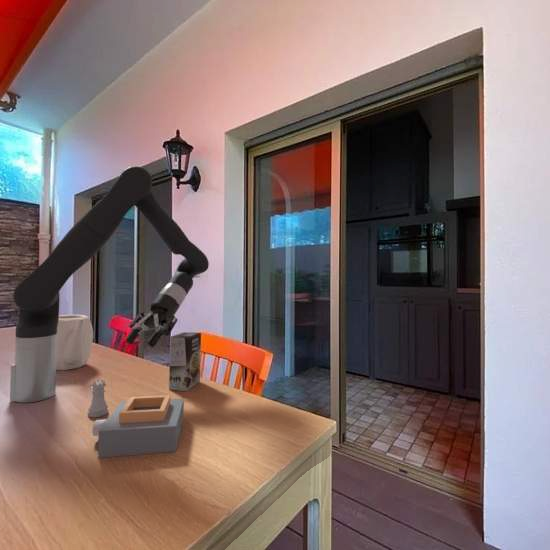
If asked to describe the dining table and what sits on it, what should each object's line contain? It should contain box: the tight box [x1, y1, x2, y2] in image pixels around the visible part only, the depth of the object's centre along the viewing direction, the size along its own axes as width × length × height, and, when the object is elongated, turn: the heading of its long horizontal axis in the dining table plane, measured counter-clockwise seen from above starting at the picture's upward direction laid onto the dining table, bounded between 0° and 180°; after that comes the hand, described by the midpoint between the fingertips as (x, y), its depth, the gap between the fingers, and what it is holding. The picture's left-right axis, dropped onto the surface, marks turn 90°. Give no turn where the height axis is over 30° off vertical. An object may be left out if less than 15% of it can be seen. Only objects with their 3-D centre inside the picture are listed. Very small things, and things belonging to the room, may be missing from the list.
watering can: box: [56, 314, 94, 371], centre depth 115 cm, size 16×27×19 cm, turn 49°
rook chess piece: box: [87, 379, 109, 419], centre depth 77 cm, size 4×4×8 cm
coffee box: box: [168, 331, 202, 392], centre depth 98 cm, size 9×6×16 cm
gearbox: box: [92, 394, 185, 459], centre depth 67 cm, size 17×14×7 cm
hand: (138, 344), depth 88 cm, fingers open, 8 cm apart
